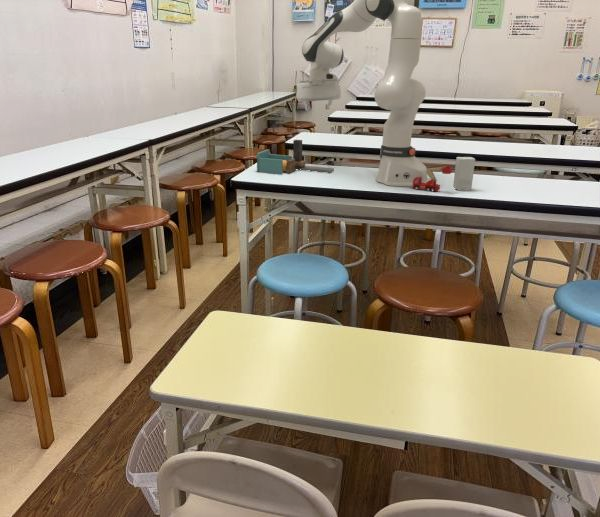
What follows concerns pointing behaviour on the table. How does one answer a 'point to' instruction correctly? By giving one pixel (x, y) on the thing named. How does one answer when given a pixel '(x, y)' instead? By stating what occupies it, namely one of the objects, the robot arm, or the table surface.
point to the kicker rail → (315, 169)
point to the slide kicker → (296, 157)
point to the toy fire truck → (432, 183)
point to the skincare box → (464, 172)
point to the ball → (284, 165)
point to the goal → (270, 162)
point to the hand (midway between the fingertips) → (317, 109)
